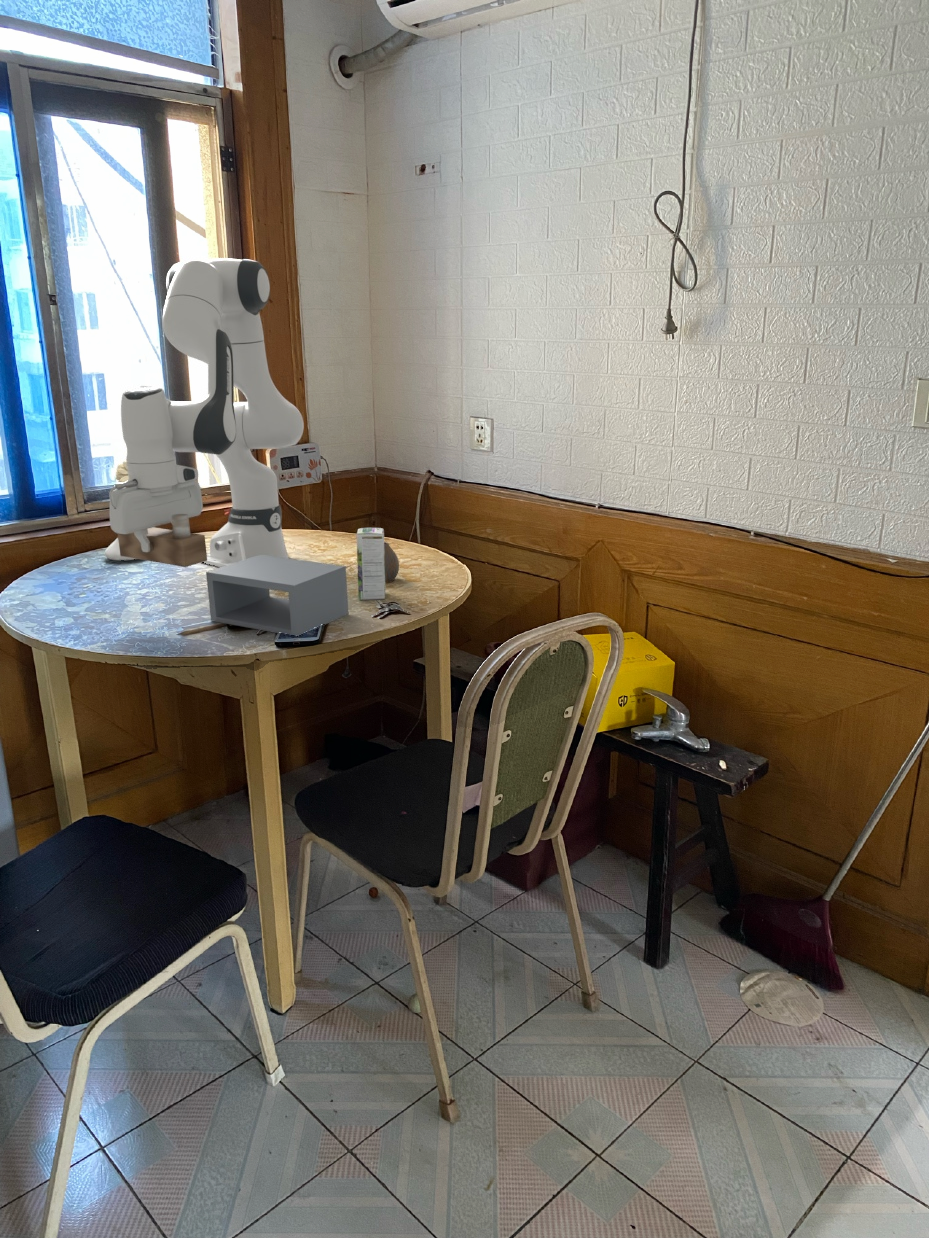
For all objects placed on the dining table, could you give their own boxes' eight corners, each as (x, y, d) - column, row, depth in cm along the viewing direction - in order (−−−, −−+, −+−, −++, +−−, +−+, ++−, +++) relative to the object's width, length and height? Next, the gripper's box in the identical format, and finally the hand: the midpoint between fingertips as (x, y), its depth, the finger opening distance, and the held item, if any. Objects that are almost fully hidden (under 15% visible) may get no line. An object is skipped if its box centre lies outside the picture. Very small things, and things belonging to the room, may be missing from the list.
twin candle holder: (120, 555, 179) (114, 510, 177) (142, 549, 184) (137, 505, 181) (185, 567, 171) (179, 519, 168) (207, 560, 175) (202, 514, 172)
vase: (394, 585, 206) (393, 547, 203) (365, 583, 207) (363, 546, 204) (403, 577, 212) (401, 540, 210) (374, 576, 214) (372, 539, 211)
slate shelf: (211, 620, 182) (206, 572, 179) (264, 600, 195) (260, 554, 192) (297, 636, 172) (294, 585, 169) (348, 614, 185) (345, 566, 182)
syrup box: (359, 593, 200) (355, 527, 195) (386, 592, 200) (383, 527, 196) (358, 600, 194) (355, 533, 190) (386, 599, 195) (383, 532, 191)
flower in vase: (102, 565, 227) (88, 464, 219) (108, 555, 237) (95, 458, 230) (157, 561, 229) (145, 461, 222) (160, 551, 240) (149, 455, 232)
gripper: (120, 486, 162) (131, 561, 166) (204, 468, 179) (211, 537, 183) (96, 483, 165) (107, 557, 169) (180, 466, 182) (188, 534, 186)
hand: (162, 547), depth 177 cm, fingers closed on twin candle holder, 6 cm apart
